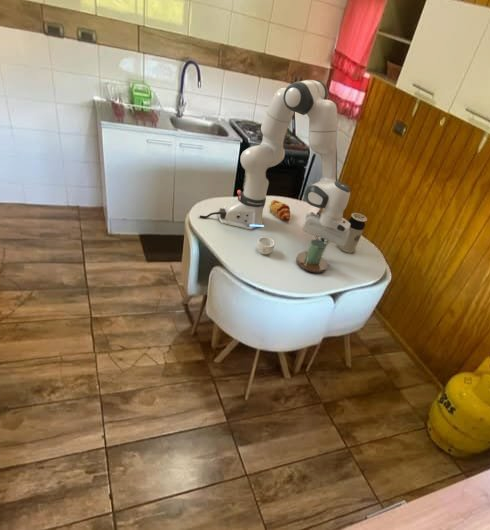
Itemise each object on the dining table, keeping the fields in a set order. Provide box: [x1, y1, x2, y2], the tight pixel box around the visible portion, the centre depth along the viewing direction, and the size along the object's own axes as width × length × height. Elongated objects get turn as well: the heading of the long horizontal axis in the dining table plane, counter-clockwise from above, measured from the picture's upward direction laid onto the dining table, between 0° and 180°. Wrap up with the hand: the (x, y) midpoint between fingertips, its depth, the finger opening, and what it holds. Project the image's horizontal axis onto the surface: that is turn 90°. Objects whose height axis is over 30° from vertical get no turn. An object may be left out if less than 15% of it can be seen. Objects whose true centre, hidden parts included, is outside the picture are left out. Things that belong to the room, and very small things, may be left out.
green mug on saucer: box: [295, 238, 329, 273], centre depth 165 cm, size 15×14×10 cm
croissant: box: [269, 199, 291, 222], centre depth 202 cm, size 21×10×8 cm, turn 19°
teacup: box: [256, 236, 276, 255], centre depth 170 cm, size 10×8×5 cm
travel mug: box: [337, 212, 368, 254], centre depth 181 cm, size 8×8×18 cm
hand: (320, 245), depth 170 cm, fingers closed on green mug on saucer, 2 cm apart
